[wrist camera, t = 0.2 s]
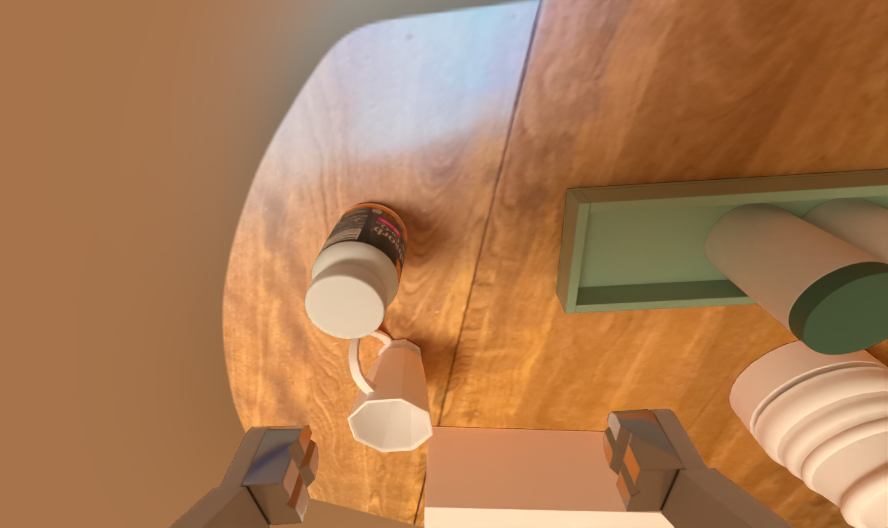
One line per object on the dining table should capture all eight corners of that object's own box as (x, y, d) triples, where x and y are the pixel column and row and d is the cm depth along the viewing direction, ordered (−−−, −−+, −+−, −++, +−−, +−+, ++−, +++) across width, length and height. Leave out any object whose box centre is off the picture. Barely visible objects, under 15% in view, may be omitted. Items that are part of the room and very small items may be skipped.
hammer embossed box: (611, 500, 51) (649, 605, 42) (425, 496, 51) (421, 600, 41) (646, 432, 44) (701, 541, 35) (428, 426, 43) (423, 534, 34)
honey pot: (894, 363, 38) (1200, 585, 23) (784, 435, 44) (968, 651, 29) (808, 318, 35) (1092, 538, 20) (702, 402, 41) (858, 622, 26)
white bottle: (716, 204, 29) (831, 275, 20) (798, 199, 29) (948, 269, 20) (695, 271, 32) (786, 357, 24) (768, 267, 32) (888, 353, 23)
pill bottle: (421, 245, 31) (413, 324, 23) (363, 274, 33) (335, 358, 24) (382, 187, 29) (357, 251, 20) (322, 221, 30) (274, 294, 22)
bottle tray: (555, 292, 34) (565, 313, 31) (566, 188, 29) (578, 203, 26) (855, 276, 33) (890, 297, 30) (918, 166, 28) (967, 180, 25)
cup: (389, 388, 40) (377, 462, 33) (331, 323, 36) (304, 392, 29) (448, 365, 38) (449, 438, 31) (396, 293, 34) (383, 360, 27)
